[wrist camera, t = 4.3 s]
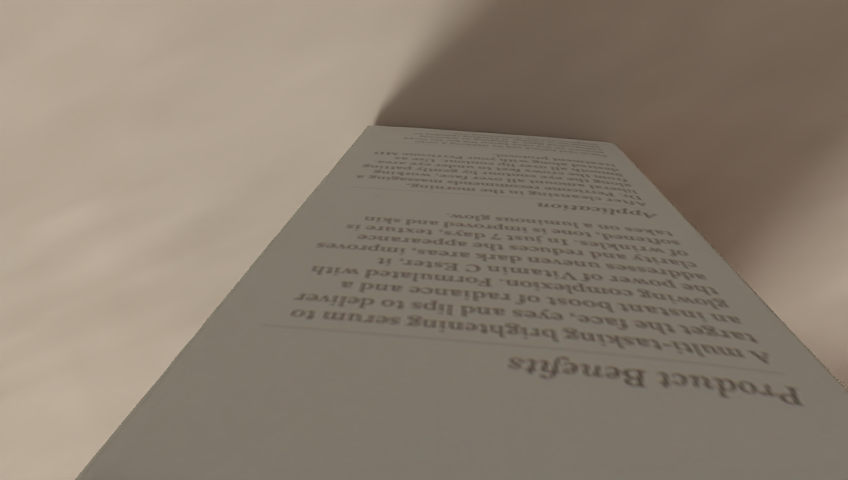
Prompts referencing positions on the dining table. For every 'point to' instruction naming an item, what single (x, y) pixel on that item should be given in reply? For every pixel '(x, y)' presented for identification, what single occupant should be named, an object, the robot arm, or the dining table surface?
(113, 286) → the dining table surface
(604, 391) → the small box
